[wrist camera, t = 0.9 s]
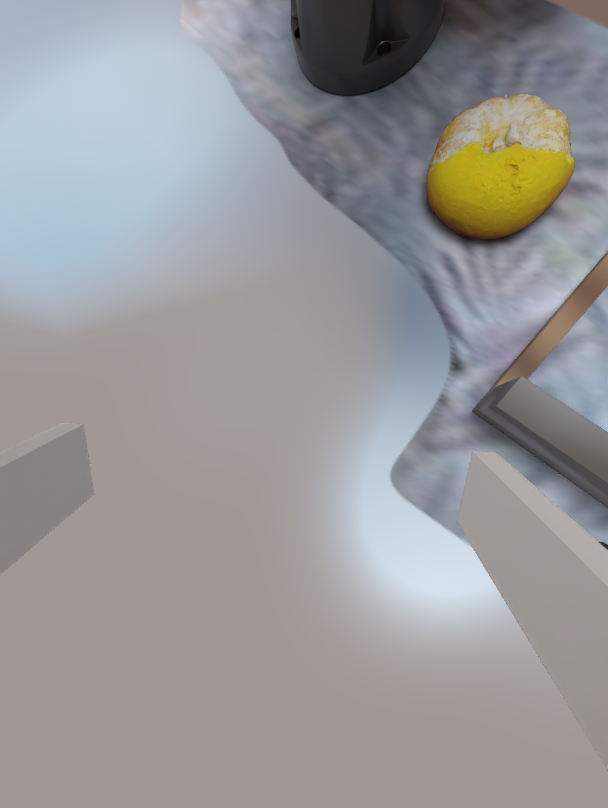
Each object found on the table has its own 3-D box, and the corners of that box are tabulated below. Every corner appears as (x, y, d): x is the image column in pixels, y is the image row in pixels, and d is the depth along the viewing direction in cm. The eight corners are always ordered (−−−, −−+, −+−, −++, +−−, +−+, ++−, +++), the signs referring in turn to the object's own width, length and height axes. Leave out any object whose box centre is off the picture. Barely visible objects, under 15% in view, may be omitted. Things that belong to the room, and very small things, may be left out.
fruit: (594, 155, 29) (635, 97, 22) (501, 269, 33) (509, 251, 26) (480, 98, 31) (484, 30, 24) (407, 210, 35) (392, 180, 28)
